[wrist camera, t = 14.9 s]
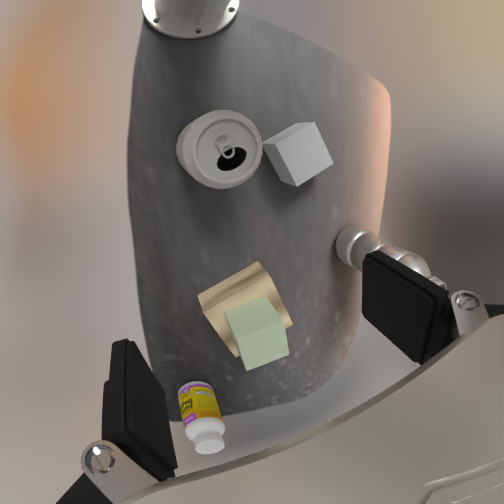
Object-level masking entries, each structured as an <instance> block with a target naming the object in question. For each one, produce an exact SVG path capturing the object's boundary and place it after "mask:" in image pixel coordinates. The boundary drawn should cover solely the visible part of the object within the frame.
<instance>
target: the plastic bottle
mask: <svg viewBox="0 0 504 504" xmlns="http://www.w3.org/2000/svg"><path fill="white" fill-rule="evenodd" d="M375 250H380V251H381V252H383V253H385V254H387V255H389V256H390V257H392V258H394V259H396V260H397V261H399V262H401V263H402V264H404V265H406V266H408V267H409V268H411V269H413V270H414V271H416V272H418V273H419V274H421V275H423V276H424V277H426V278H428V279H429V280H431V281H433V282H434V283H436V284H438V285H439V286H441V287H442V288H444V289H447V288H446V284H445V283H444V282H442V281H440V280H439V279H438V278H437V277H435V276H431V274H430V271H429V268H428V266H427V264H426V262H425V261H424V260H423V259H422V258H421V257H420V256H419V255H416V254H414V253H410V252H408V251H405V250H402V249H399V248H396V247H394V246H392V245H389V244H387V243H385V242H384V241H383V240H381V239H380V238H378V237H377V236H375V235H374V234H373V233H372V232H371V231H370V230H368V229H367V228H366V227H364V226H360V225H355V224H353V225H349V226H347V227H346V228H344V229H343V230H342V231H341V232H340V233H339V235H338V237H337V240H336V253H337V255H338V257H339V258H340V259H341V261H342V262H343V263H344V264H346V265H348V266H350V267H353V268H356V269H358V270H360V271H362V261H363V259H364V258H365V255H366V254H368V253H371V252H373V251H375Z"/></svg>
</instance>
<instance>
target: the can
mask: <svg viewBox="0 0 504 504" xmlns="http://www.w3.org/2000/svg"><path fill="white" fill-rule="evenodd" d="M176 155H177V157H178V160H179V163H180V164H181V165H182V167H183V168H184V169H185V170H186V171H187V172H188V173H189V174H190V175H191V176H192V177H193V178H195V179H196V180H197V181H199V182H200V183H202V184H204V185H205V186H207V187H212V188H216V189H227V188H233V187H235V186H238V185H240V184H243V183H244V182H245V181H246V180H248V179H249V178H250V177H251V176H252V175H253V174H254V172H255V171H256V169H257V168H258V166H259V164H260V160H261V157H262V139H261V136H260V133H259V130H258V129H257V128H256V126H255V125H254V124H253V122H252V121H251V120H250V119H248V118H247V117H246V116H244V115H243V114H241V113H238V112H235V111H232V110H215V111H212V112H209V113H206V114H204V115H202V116H200V117H199V118H197V119H196V120H194V121H192V122H191V123H190V124H188V125H187V126H186V127H185V128H184V129H183V130H182V132H181V133H180V135H179V136H178V140H177V143H176Z"/></svg>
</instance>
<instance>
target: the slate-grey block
mask: <svg viewBox="0 0 504 504" xmlns="http://www.w3.org/2000/svg"><path fill="white" fill-rule="evenodd" d="M262 147H263V149H264V150H265V152H266V154H267V156H268V158H269V160H270V161H271V163H272V165H273V167H274V169H275V171H276V172H277V174H278V176H279V178H280V180H281V181H282V182H285V183H288V184H291V185H293V186H296V187H298V186H299V185H301V184H302V183H304V182H305V181H307V180H309V179H310V178H312V177H313V176H315V175H316V174H318V173H319V172H321V171H322V170H324V169H326V168H327V167H329V166H330V165H332V164H333V161H332V159H331V156H330V154H329V152H328V150H327V147H326V145H325V143H324V141H323V139H322V137H321V135H320V132H319V130H318V128H317V126H316V124H315V122H305V123H296V124H294V125H292V126H290V127H289V128H287V129H285V130H283V131H281V132H280V133H278V134H276V135H274V136H273V137H271V138H269V139H268V140H266V141H264V142H262Z"/></svg>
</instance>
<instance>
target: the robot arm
mask: <svg viewBox="0 0 504 504" xmlns="http://www.w3.org/2000/svg"><path fill="white" fill-rule="evenodd" d="M239 1H240V0H142V12H143V15H144V17H145V19H146V21H147V22H148V23H149V25H150V26H151V27H153V28H154V29H155V30H156V31H158V32H160V33H162V34H164V35H167V36H170V37H174V38H180V39H195V38H202V37H206V36H209V35H212V34H214V33H216V32H218V31H220V30H221V29H223V28H224V27H226V26H227V25H228V24H229V23H230V22H231V20H232V19H233V18H234V17H235V15H236V13H237V11H238V8H239V4H240V2H239ZM229 11H231V12H229ZM155 22H158V23H155ZM196 32H199V34H197V33H196ZM448 293H449V291H447V290H446V289H444V288H442V287H441V286H439V285H438V284H436V283H434V282H433V281H431V280H429V279H428V278H426V277H424V276H423V275H421V274H419V273H418V272H416V271H414V270H413V269H411V268H409V267H408V266H406V265H404V264H402V263H401V262H399V261H397V260H396V259H394V258H392V257H390V256H389V255H387V254H385V253H383V252H381V251H380V250H375V251H373V252H371V253H368V254H366V255H365V258H364V259H363V261H362V314H363V316H364V317H365V319H367V320H368V321H369V322H370V323H371V324H372V325H373V326H374V327H376V328H377V329H378V330H379V331H380V332H381V333H382V334H383V335H384V336H386V337H387V338H388V339H389V340H390V341H391V342H392V343H393V344H395V345H396V346H397V347H398V348H399V349H400V350H401V351H402V352H403V353H405V354H406V355H407V356H408V357H409V358H410V359H411V360H412V361H413V362H418V363H419V364H420V365H421V366H420V367H419V368H417V369H416V370H415V371H413V372H412V373H410V374H409V375H407V376H406V377H404V378H403V379H401V380H400V381H398V382H397V383H395V384H394V385H392V386H391V387H389V388H387V389H386V390H384V391H383V392H381V393H379V394H378V395H376V396H374V397H373V398H371V399H369V400H368V401H366V402H364V403H363V404H361V405H359V406H357V407H355V408H354V409H352V410H350V411H348V412H346V413H344V414H343V415H341V416H339V417H337V418H335V419H333V420H331V421H329V422H327V423H325V424H323V425H321V426H319V427H316V428H314V429H312V430H310V431H308V432H306V433H304V434H301V435H299V436H297V437H294V438H292V439H290V440H287V441H285V442H283V443H280V444H278V445H275V446H273V447H270V448H267V449H265V450H262V451H259V452H257V453H254V454H251V455H248V456H245V457H242V458H239V459H237V460H233V461H230V462H227V463H224V464H221V465H218V466H215V467H211V468H208V469H204V470H200V471H196V472H193V473H189V474H186V475H182V476H179V477H175V473H174V469H177V468H178V466H177V461H176V456H175V451H174V446H173V441H172V436H171V430H170V424H169V418H168V412H167V406H166V399H165V394H164V391H163V389H162V387H161V385H160V384H159V382H158V380H157V379H156V377H155V376H154V374H153V372H152V371H151V369H150V367H149V366H148V364H147V362H146V361H145V360H144V358H143V356H142V354H141V352H140V350H139V349H138V347H137V345H136V343H135V342H134V341H129V340H128V339H123V340H120V341H116V342H113V344H112V352H111V362H110V374H109V380H108V381H106V382H105V384H104V391H103V408H102V440H99V441H96V442H93V443H91V444H90V445H88V446H87V448H86V449H85V450H84V451H83V454H82V456H81V466H82V469H83V471H84V473H83V474H82V475H81V477H80V478H79V479H78V480H77V481H76V482H75V483H74V484H73V485H72V486H71V487H70V489H69V490H68V491H67V492H66V493H65V494H64V495H63V496H62V497H61V498H60V500H59V501H58V502H57V503H56V504H504V305H490V304H484V303H483V301H482V300H481V298H480V297H479V296H478V295H477V294H475V293H473V292H470V291H458V292H455V293H454V294H453V295H452V297H451V299H449V298H448ZM173 477H175V478H173ZM168 478H171V479H168ZM167 479H168V480H167Z"/></svg>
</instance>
